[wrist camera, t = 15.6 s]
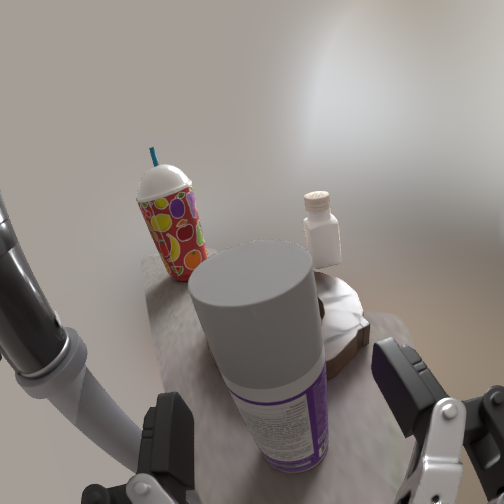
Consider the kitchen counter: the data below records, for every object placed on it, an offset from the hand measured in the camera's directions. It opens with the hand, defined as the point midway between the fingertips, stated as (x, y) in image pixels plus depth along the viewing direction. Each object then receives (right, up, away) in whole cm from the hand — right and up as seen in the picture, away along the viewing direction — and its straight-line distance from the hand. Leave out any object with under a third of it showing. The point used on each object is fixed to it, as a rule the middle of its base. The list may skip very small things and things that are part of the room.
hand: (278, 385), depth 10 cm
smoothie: (-11, +2, +34) cm, 36 cm away
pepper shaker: (+9, +4, +28) cm, 30 cm away
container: (+2, -9, +6) cm, 11 cm away
